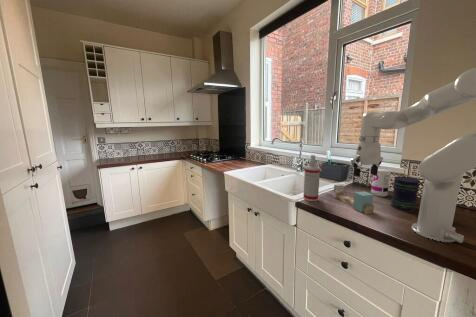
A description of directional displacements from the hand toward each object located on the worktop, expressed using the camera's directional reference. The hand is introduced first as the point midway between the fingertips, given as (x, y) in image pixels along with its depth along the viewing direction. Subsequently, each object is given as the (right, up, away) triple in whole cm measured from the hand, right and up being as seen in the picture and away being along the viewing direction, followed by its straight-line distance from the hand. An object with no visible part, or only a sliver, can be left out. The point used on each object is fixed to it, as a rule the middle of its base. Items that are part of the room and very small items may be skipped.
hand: (365, 175), depth 99 cm
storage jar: (+22, -17, +5) cm, 28 cm away
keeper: (0, -17, +3) cm, 17 cm away
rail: (-2, -16, +10) cm, 19 cm away
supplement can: (+23, -13, +24) cm, 36 cm away
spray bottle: (-20, -15, +18) cm, 31 cm away
